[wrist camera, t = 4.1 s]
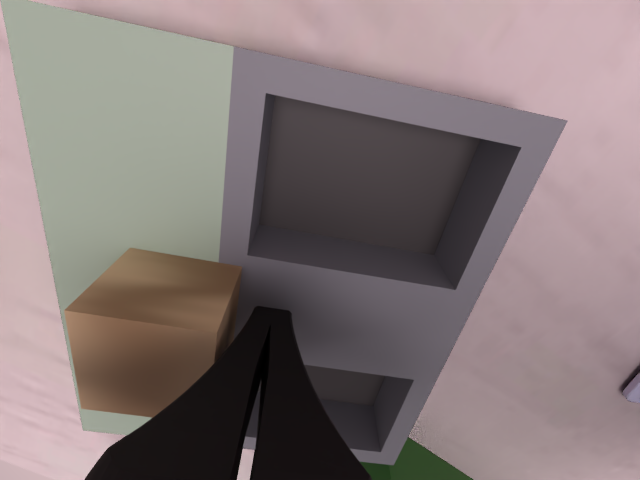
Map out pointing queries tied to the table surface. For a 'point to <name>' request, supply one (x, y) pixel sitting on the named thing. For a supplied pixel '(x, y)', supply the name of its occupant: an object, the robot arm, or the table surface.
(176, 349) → the maple block
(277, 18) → the table surface
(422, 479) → the hardback book
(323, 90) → the box
